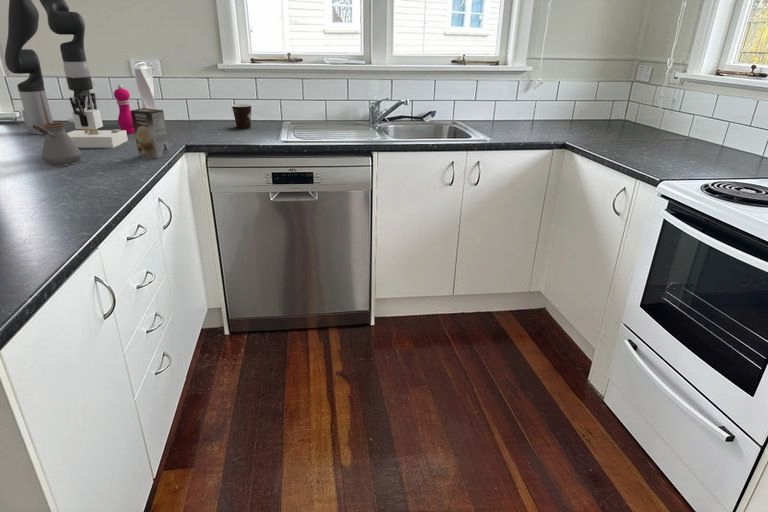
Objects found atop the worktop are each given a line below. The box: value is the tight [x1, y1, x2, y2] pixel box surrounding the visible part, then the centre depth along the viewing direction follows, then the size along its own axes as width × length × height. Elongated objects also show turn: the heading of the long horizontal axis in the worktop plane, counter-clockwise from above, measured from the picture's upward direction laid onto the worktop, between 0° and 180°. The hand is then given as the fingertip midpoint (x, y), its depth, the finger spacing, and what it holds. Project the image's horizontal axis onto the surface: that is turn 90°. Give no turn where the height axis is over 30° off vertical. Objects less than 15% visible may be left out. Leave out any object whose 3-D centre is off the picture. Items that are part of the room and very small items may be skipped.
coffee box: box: [130, 107, 171, 160], centre depth 174 cm, size 9×6×16 cm
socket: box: [66, 128, 129, 149], centre depth 193 cm, size 20×14×5 cm
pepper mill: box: [113, 84, 135, 135], centre depth 212 cm, size 7×7×20 cm
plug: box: [68, 109, 104, 134], centre depth 178 cm, size 10×6×8 cm, turn 94°
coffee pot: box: [30, 122, 82, 166], centre depth 158 cm, size 21×12×15 cm, turn 13°
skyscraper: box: [133, 61, 158, 110], centre depth 228 cm, size 8×8×28 cm
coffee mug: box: [231, 103, 252, 130], centre depth 228 cm, size 12×9×10 cm
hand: (89, 124), depth 179 cm, fingers closed on plug, 5 cm apart
